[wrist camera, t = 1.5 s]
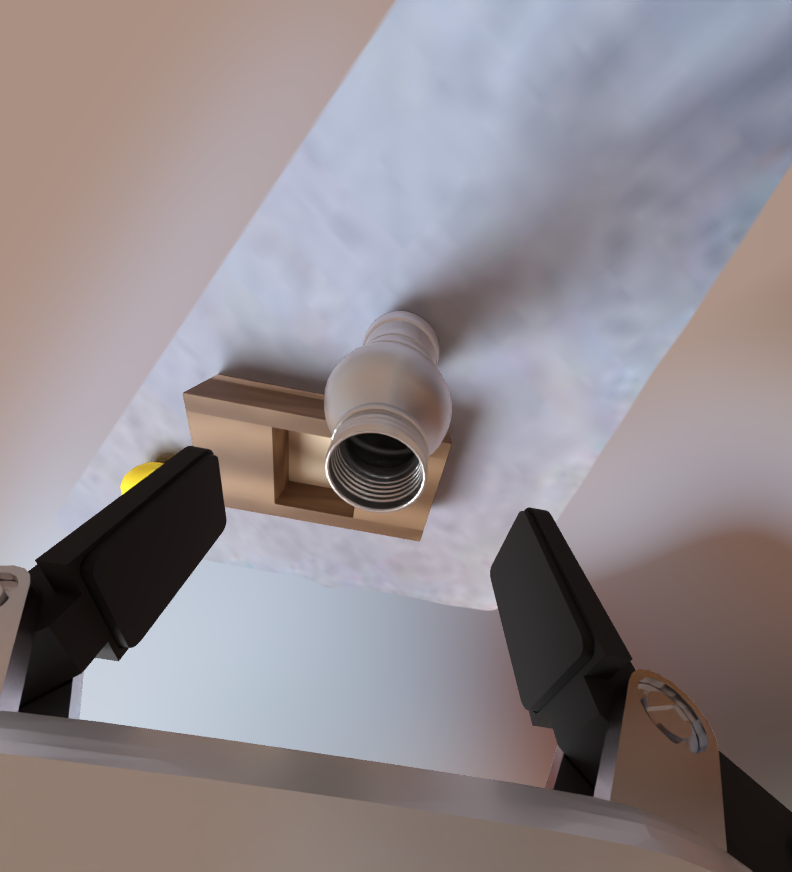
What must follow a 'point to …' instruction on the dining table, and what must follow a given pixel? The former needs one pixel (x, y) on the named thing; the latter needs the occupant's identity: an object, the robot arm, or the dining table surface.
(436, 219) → the dining table surface
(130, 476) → the lemon
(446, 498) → the dining table surface
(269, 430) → the brown slotted block
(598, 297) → the dining table surface
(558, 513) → the dining table surface
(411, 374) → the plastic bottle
